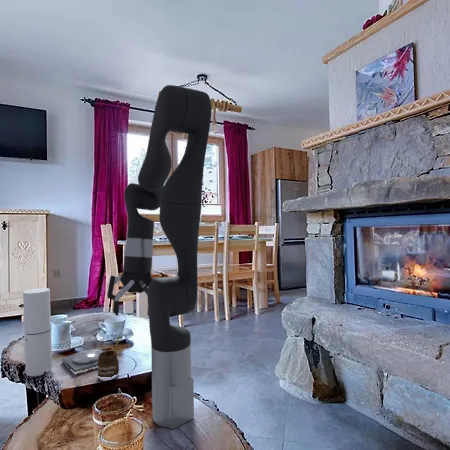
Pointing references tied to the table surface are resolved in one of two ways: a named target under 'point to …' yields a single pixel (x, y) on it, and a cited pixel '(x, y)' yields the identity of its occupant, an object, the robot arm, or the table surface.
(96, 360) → the flange
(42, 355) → the cylindrical container
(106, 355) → the utensil holder
